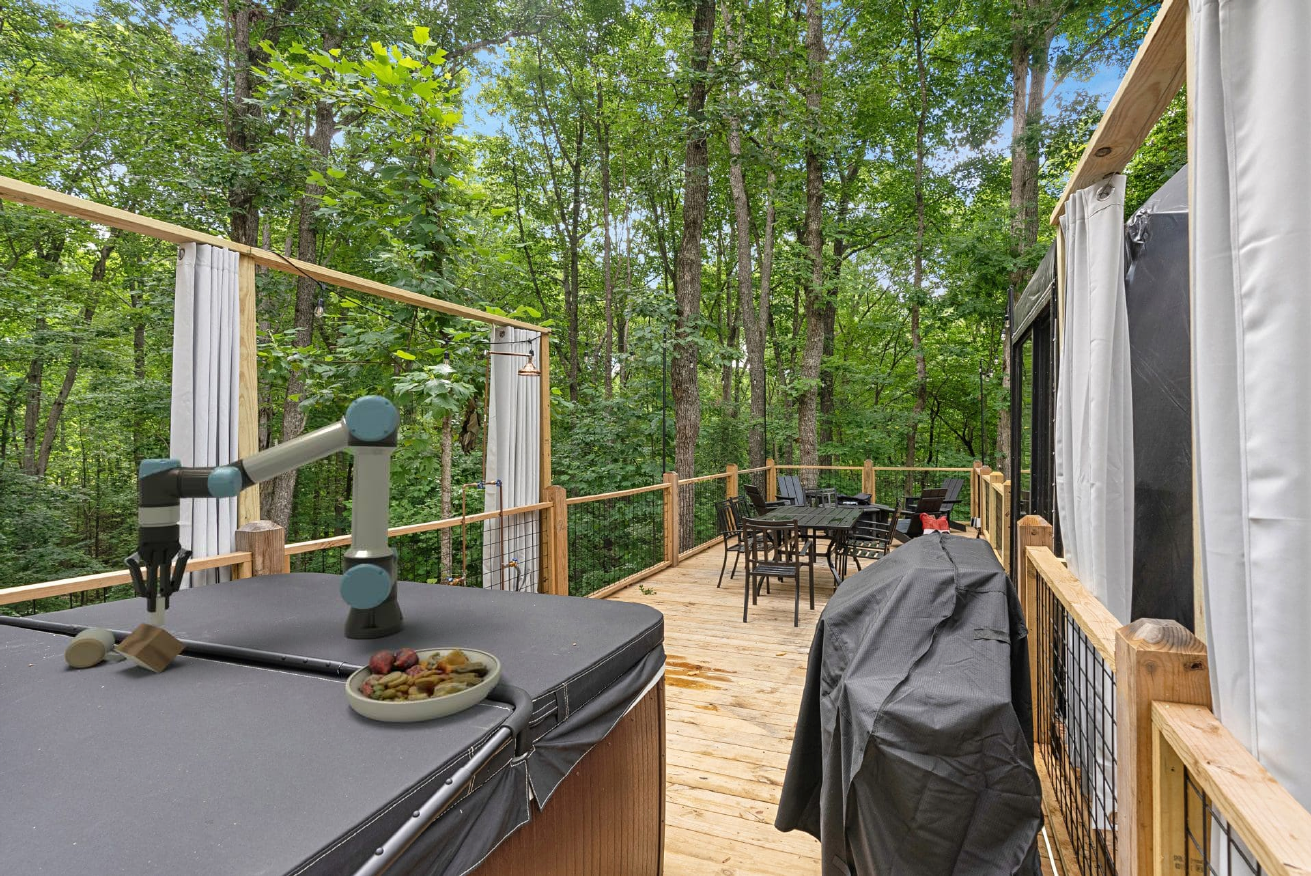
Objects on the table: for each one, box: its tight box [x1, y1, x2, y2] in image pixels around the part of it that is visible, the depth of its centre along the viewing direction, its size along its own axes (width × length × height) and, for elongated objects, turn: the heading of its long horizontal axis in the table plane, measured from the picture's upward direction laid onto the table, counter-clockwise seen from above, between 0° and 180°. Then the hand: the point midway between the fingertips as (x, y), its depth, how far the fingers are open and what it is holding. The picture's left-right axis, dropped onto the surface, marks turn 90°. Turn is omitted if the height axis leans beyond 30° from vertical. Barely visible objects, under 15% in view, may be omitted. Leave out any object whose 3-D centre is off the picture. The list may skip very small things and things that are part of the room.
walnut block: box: [114, 622, 187, 674], centre depth 138 cm, size 10×7×7 cm
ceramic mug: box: [64, 627, 126, 669], centre depth 142 cm, size 11×8×8 cm
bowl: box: [344, 647, 502, 723], centre depth 124 cm, size 30×30×8 cm
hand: (157, 624), depth 139 cm, fingers closed
